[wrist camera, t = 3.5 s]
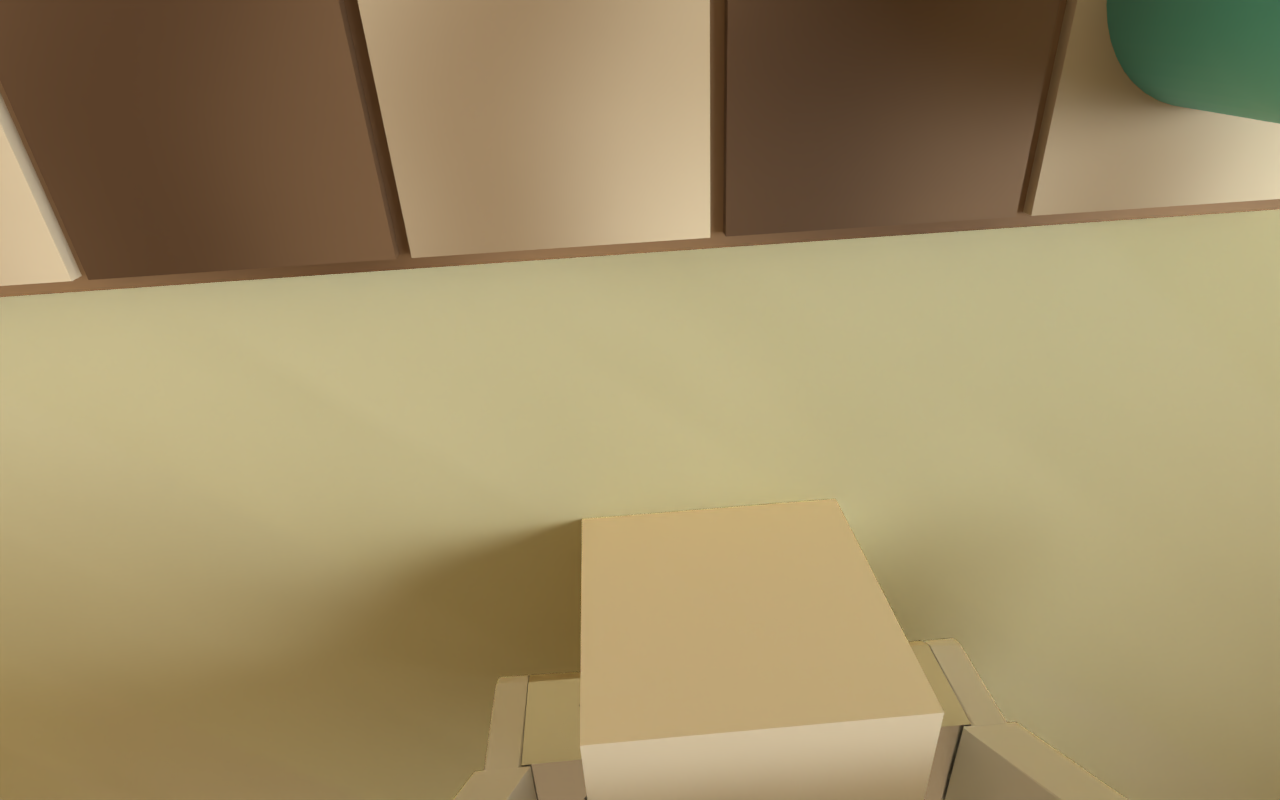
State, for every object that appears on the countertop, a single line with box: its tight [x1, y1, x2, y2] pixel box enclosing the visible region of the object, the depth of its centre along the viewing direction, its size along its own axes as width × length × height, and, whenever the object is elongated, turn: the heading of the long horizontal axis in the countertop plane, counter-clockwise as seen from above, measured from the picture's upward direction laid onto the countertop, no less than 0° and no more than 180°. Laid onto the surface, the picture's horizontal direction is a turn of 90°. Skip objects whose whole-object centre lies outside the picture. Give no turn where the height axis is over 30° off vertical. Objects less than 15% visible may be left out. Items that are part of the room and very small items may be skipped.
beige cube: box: [580, 499, 944, 800], centre depth 12 cm, size 4×4×4 cm
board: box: [0, 0, 1280, 297], centre depth 8 cm, size 24×6×1 cm, turn 93°
